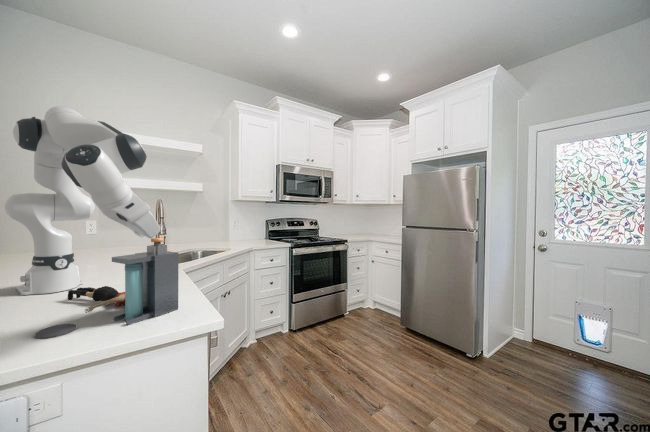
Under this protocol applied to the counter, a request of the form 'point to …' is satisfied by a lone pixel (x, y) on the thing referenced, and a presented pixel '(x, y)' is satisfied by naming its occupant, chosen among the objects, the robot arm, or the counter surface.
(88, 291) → the figurine
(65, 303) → the counter surface
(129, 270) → the cartridge
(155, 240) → the plunger
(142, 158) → the robot arm
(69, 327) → the pad
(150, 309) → the housing
